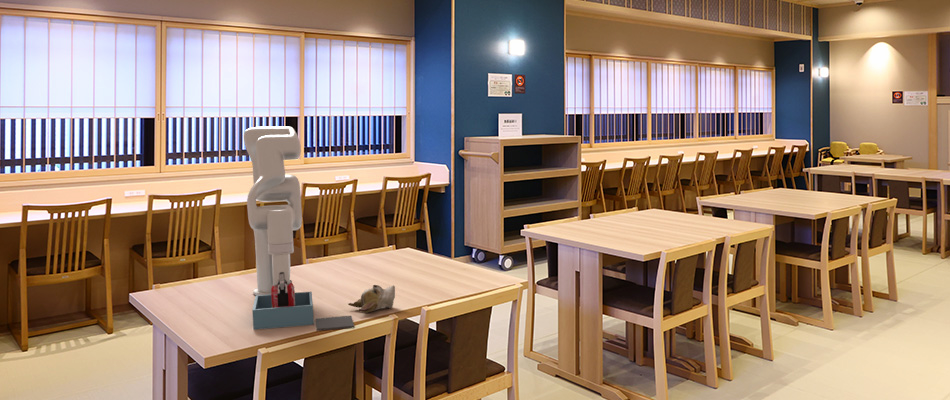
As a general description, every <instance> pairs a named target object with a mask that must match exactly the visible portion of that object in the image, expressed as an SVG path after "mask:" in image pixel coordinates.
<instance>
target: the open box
mask: <svg viewBox="0 0 950 400" xmlns="http://www.w3.org/2000/svg"><path fill="white" fill-rule="evenodd" d="M251 313H252V328H253V330H263V329H264V330H267V329H278V328H288V327H290V326H291V327H300V326H302V327H303V326H314V324H315V323H314V321H315V320H314V302H313V293H312V291H303V292H302V291H301V292H295V306H291V307H278V308H272V297H271V294H270V295H255V298H254V301H253V306H252V311H251Z"/></svg>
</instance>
